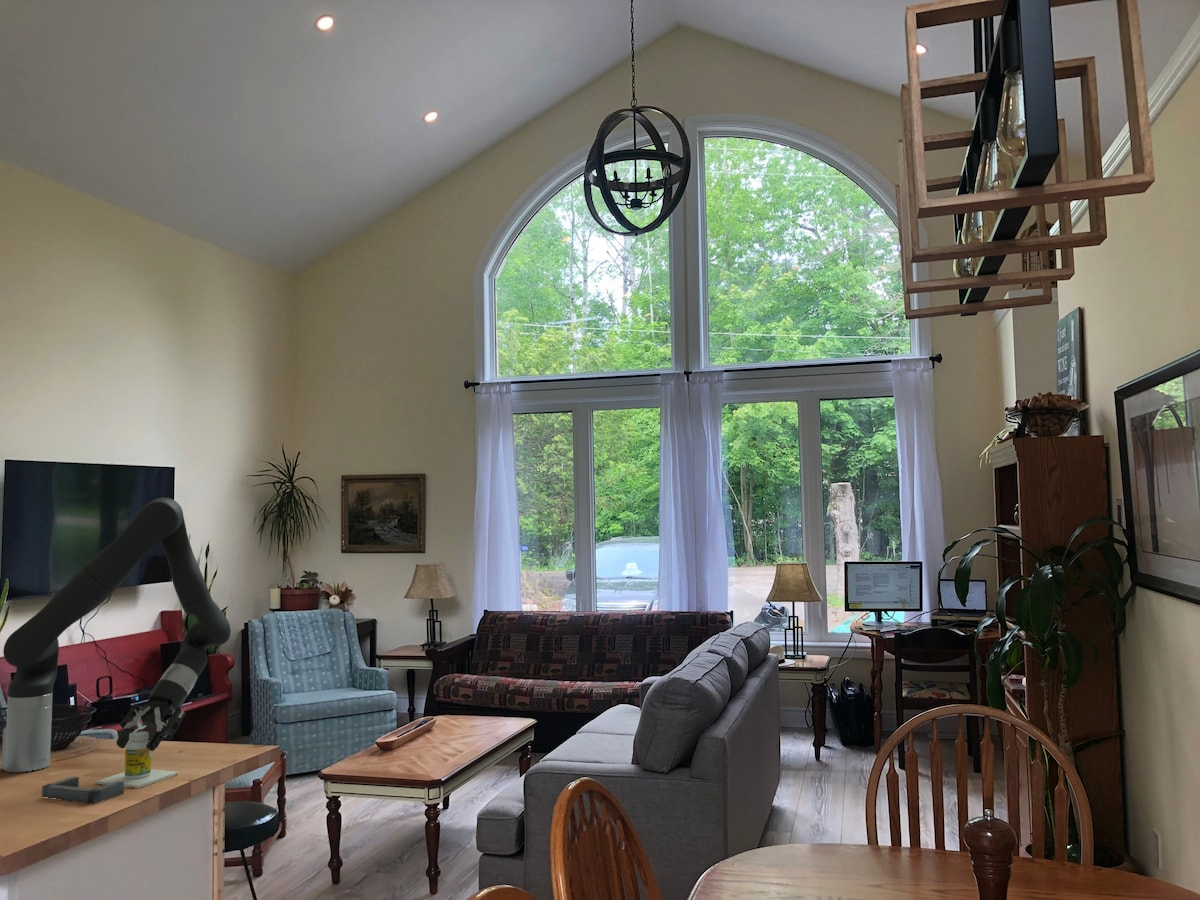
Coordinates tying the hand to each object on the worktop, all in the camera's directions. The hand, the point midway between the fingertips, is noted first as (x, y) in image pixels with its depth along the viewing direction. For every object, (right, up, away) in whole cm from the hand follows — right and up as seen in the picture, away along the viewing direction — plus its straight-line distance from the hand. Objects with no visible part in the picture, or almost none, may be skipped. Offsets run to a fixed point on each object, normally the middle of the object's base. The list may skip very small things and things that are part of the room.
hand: (134, 747), depth 211 cm
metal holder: (-5, -6, -11) cm, 14 cm away
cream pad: (0, -7, +1) cm, 7 cm away
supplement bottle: (0, -7, +1) cm, 7 cm away
